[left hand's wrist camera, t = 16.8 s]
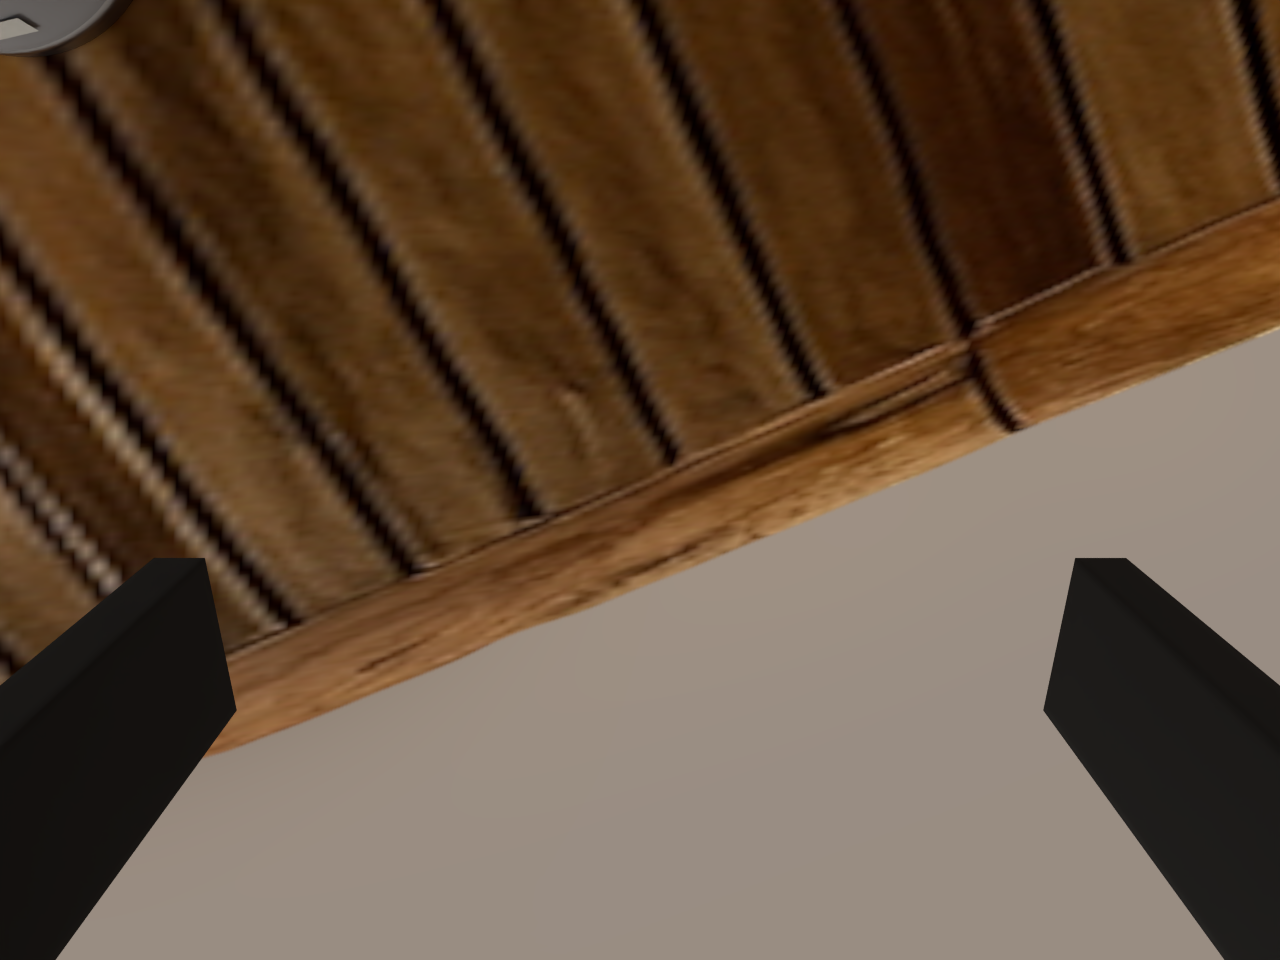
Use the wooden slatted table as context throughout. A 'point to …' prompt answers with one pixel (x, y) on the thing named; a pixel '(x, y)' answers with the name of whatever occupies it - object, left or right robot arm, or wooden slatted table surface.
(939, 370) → the wooden slatted table surface
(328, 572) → the wooden slatted table surface
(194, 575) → the left robot arm
